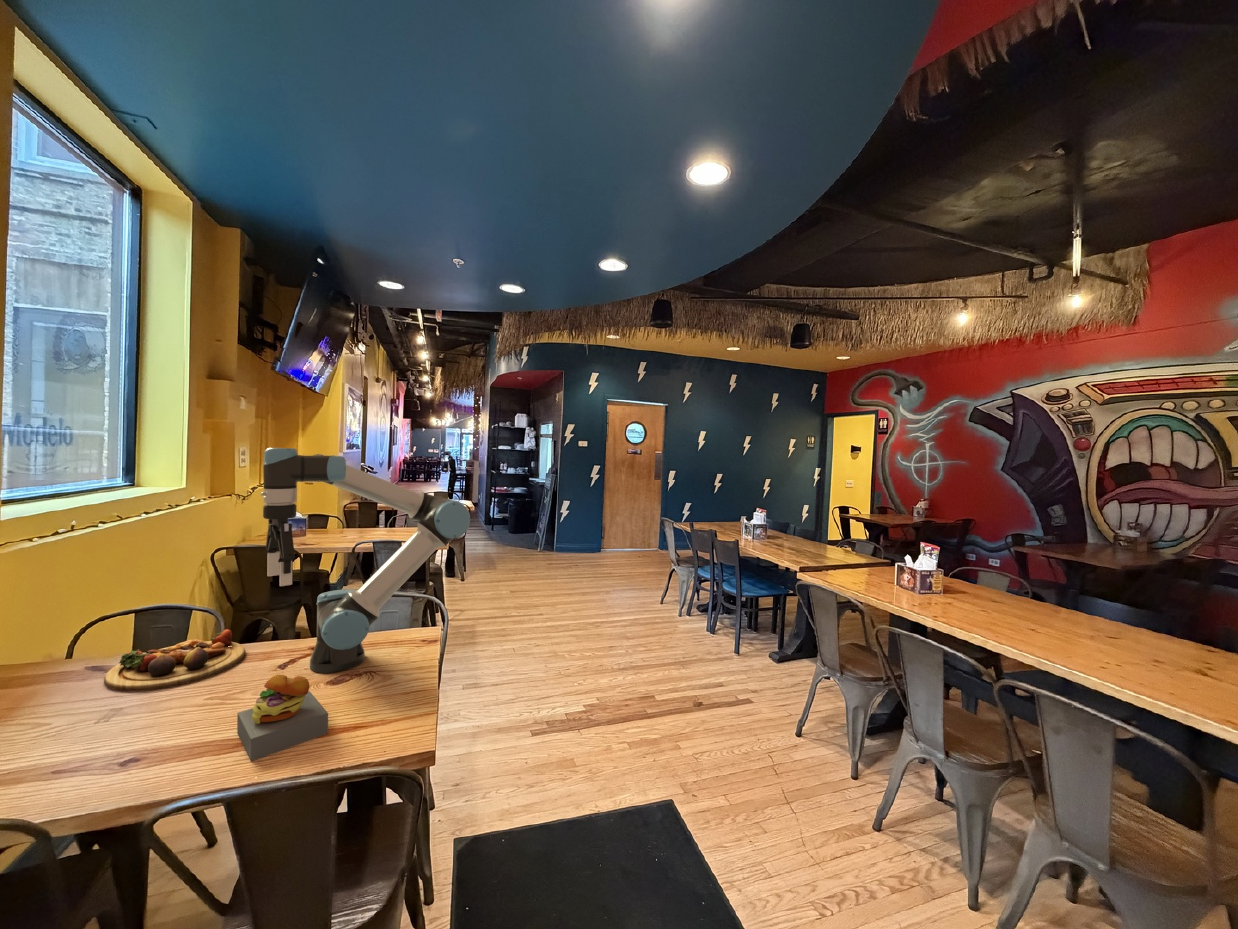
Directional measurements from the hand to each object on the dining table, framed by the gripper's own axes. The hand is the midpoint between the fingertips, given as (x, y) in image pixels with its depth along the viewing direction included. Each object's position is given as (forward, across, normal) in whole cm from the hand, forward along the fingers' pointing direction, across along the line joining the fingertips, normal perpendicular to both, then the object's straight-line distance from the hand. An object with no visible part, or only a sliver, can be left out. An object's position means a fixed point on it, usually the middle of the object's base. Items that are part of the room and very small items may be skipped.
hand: (279, 580), depth 134 cm
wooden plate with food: (+32, -40, -17) cm, 54 cm away
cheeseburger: (+27, +23, -4) cm, 36 cm away
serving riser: (+32, +23, -4) cm, 39 cm away
